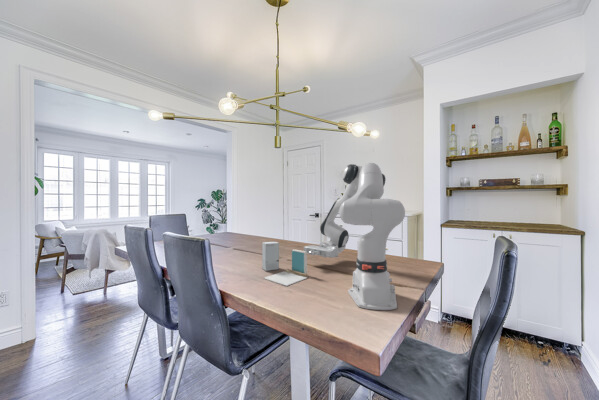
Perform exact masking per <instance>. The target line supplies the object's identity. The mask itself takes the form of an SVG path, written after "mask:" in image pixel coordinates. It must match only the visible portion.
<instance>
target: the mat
mask: <svg viewBox="0 0 599 400" xmlns="http://www.w3.org/2000/svg"><path fill="white" fill-rule="evenodd" d="M307 278H308V277H307ZM307 278H306V277H303V276H299V275H295V274H292V273H288V272H286V270H285V271H281V272H277V273H275V274H272V275H268V276H264V277H263V280H267V281H269V282H273V283H276V284H278V285H282V286H285V287H288V286H291V285H294V284H297V283H299V282H302V281H304V280H307Z"/></svg>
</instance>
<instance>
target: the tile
mask: <svg viewBox="0 0 599 400" xmlns="http://www.w3.org/2000/svg"><path fill="white" fill-rule="evenodd" d="M291 270H294V271H298V272H301V273H305V274H308V253H307V252H306V251H304V250H300V249H296V248H295V249H291Z"/></svg>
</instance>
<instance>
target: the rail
mask: <svg viewBox="0 0 599 400" xmlns="http://www.w3.org/2000/svg"><path fill="white" fill-rule="evenodd" d="M285 272H288V273H292V274H295V275H299V276H303V277H306V278H308V277H309V274H308V273H307V274H305V273H301V272H298V271H294V270H292V269H289V268H286V269H285Z"/></svg>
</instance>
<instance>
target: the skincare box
mask: <svg viewBox="0 0 599 400" xmlns="http://www.w3.org/2000/svg"><path fill="white" fill-rule="evenodd" d="M261 245H262V247H261V249H262V251H261V256H262V257H261V260H262V261H261V267H262V268H261V269H262V270H263V271H265V272H268V271H274V270H275V271H276V270H279V269H280V242H277V241H263V242H261Z"/></svg>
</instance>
